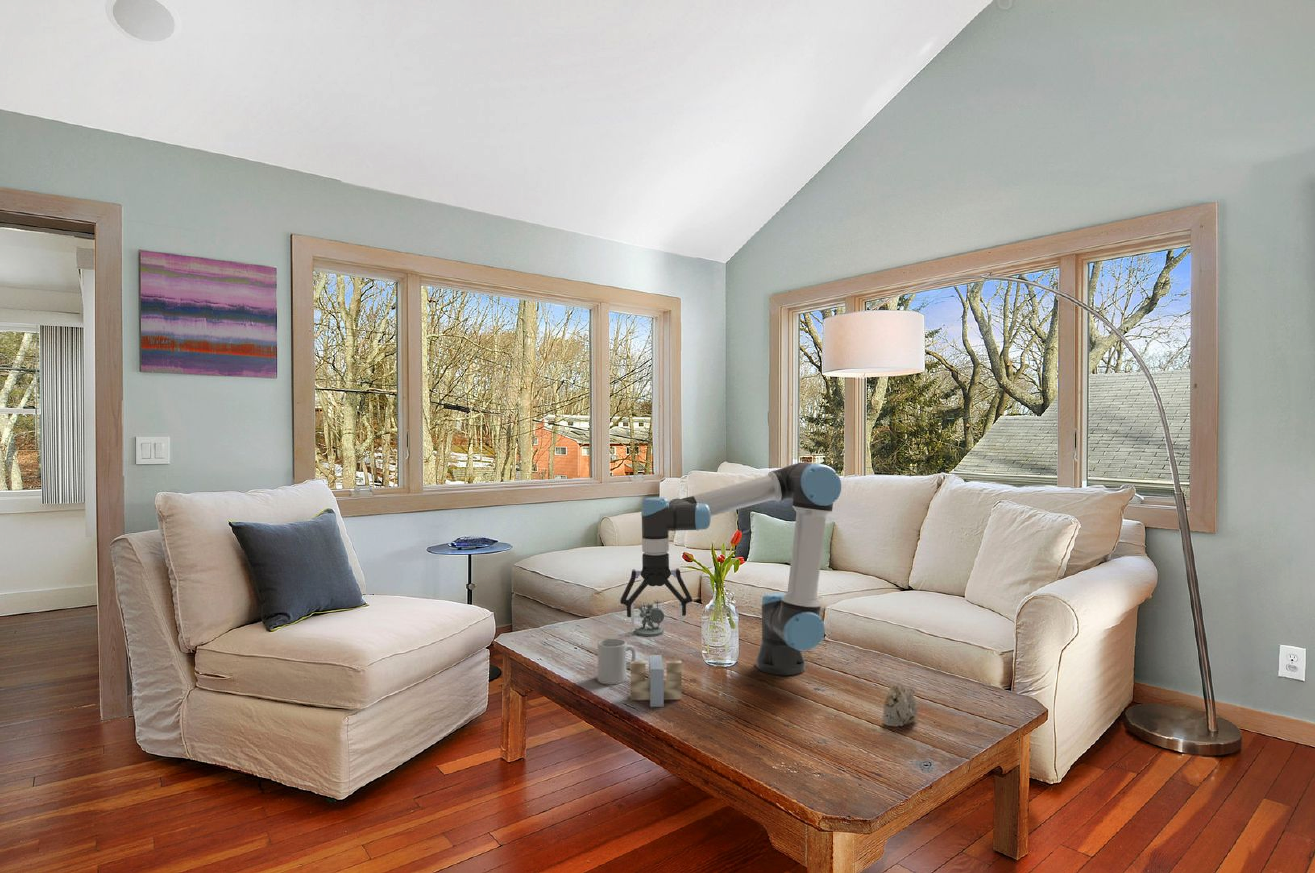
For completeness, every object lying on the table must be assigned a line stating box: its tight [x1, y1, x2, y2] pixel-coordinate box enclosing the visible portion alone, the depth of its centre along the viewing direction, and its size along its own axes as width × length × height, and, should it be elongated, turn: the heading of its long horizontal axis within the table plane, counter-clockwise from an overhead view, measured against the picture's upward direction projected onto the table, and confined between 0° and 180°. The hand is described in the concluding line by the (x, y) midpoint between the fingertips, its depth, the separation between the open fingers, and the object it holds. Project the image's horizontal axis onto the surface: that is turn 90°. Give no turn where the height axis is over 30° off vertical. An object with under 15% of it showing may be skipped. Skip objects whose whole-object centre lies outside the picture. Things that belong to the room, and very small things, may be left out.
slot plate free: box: [648, 654, 665, 708], centre depth 190 cm, size 12×4×10 cm, turn 3°
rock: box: [882, 684, 919, 727], centre depth 176 cm, size 12×7×10 cm, turn 134°
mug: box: [597, 638, 637, 685], centre depth 206 cm, size 12×8×11 cm
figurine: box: [634, 598, 665, 638], centre depth 254 cm, size 11×11×12 cm
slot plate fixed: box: [630, 660, 683, 701], centre depth 190 cm, size 14×2×10 cm, turn 92°
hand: (656, 627), depth 194 cm, fingers open, 13 cm apart
